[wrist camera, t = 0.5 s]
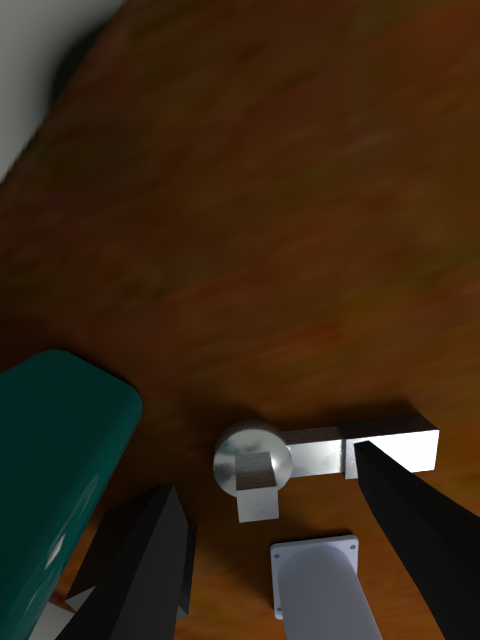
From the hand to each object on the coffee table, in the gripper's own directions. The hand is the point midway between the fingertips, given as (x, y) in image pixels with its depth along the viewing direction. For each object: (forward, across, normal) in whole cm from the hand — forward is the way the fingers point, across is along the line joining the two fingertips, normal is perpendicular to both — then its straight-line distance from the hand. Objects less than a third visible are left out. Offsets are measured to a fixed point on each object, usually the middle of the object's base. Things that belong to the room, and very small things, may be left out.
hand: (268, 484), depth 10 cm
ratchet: (+10, -4, +8) cm, 13 cm away
